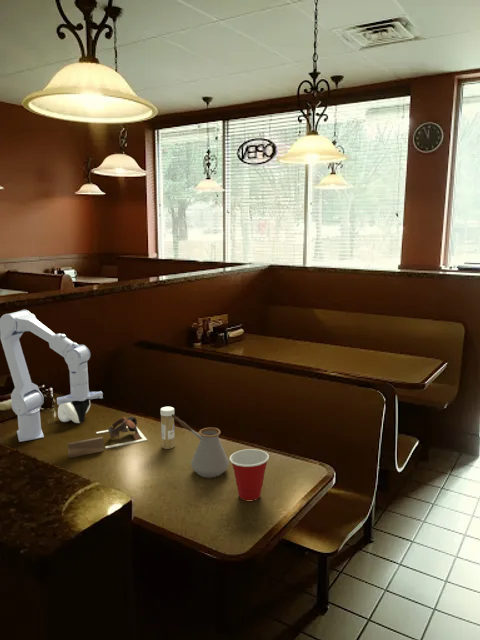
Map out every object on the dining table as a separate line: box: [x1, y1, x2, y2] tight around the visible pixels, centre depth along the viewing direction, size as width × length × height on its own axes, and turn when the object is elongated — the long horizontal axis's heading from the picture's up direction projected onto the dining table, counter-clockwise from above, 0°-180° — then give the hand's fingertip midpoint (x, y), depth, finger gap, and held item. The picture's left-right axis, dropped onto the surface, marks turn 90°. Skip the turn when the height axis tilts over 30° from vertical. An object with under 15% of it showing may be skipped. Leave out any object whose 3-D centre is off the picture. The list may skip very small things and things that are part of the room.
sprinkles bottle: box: [160, 406, 176, 450], centre depth 172 cm, size 5×5×13 cm
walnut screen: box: [67, 436, 105, 459], centre depth 168 cm, size 1×11×4 cm, turn 118°
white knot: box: [57, 400, 91, 424], centre depth 195 cm, size 11×12×9 cm
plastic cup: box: [228, 448, 270, 501], centre depth 142 cm, size 11×11×12 cm
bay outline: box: [95, 425, 148, 449], centre depth 181 cm, size 14×14×1 cm
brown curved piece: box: [107, 415, 141, 441], centre depth 181 cm, size 12×10×8 cm
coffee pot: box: [169, 414, 230, 478], centre depth 158 cm, size 21×12×15 cm, turn 55°
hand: (81, 421), depth 174 cm, fingers closed
